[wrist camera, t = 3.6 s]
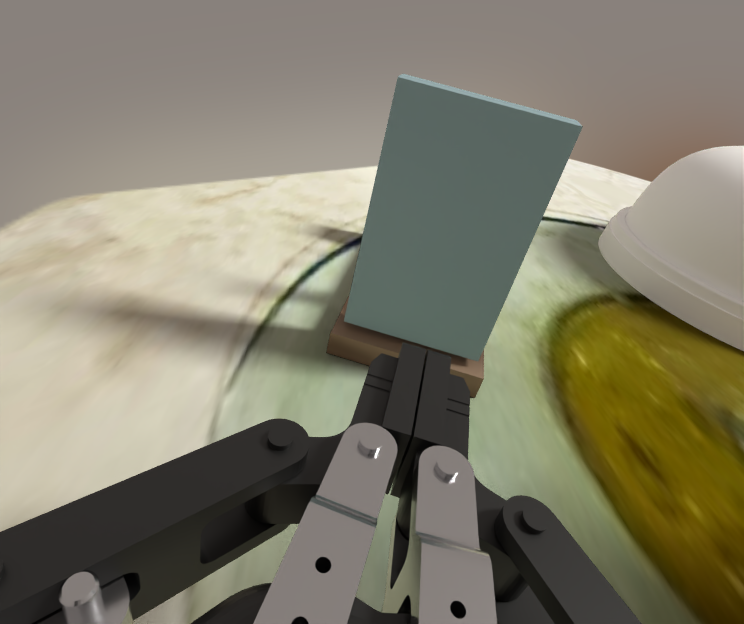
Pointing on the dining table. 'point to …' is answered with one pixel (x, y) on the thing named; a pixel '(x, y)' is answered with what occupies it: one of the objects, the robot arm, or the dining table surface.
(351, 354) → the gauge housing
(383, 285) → the blue-grey rectangular panel
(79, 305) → the dining table surface
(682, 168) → the dome cover
